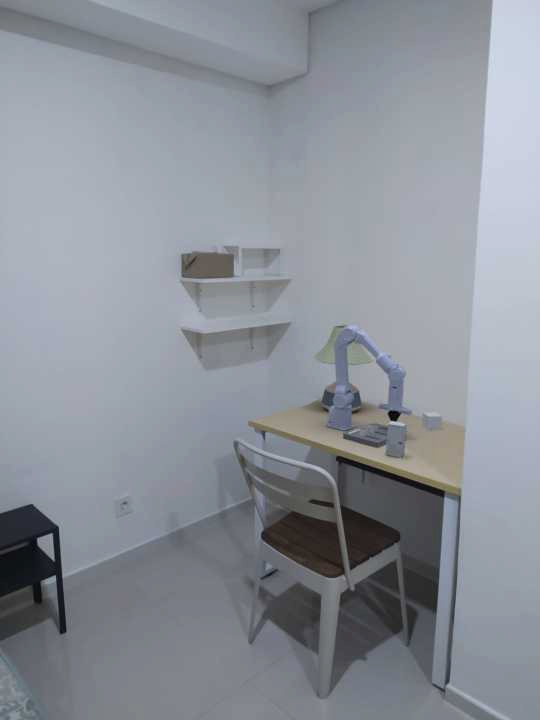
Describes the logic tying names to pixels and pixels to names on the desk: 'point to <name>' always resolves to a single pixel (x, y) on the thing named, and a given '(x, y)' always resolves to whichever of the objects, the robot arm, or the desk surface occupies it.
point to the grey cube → (432, 421)
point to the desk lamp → (354, 357)
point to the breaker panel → (369, 435)
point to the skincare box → (396, 439)
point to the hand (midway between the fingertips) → (393, 428)
